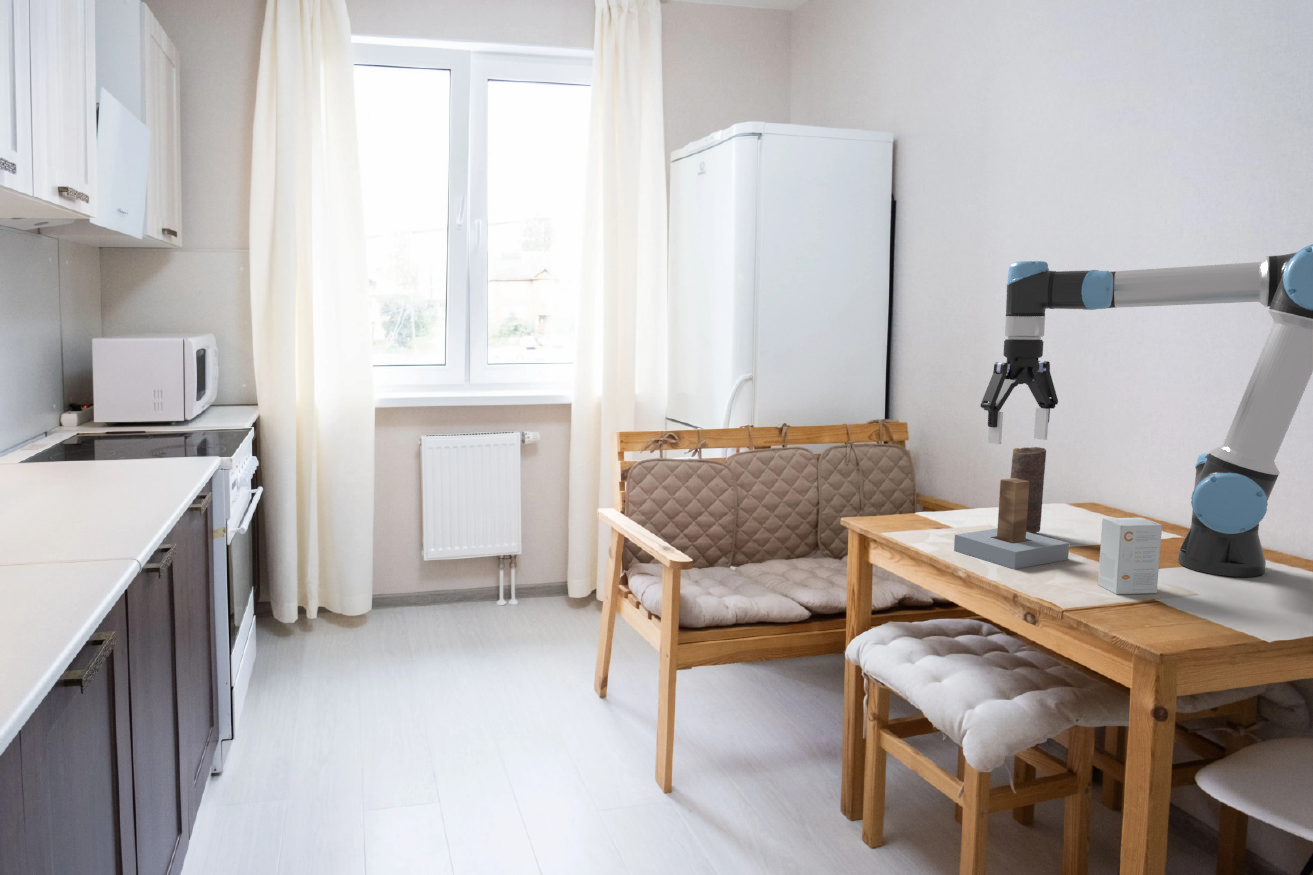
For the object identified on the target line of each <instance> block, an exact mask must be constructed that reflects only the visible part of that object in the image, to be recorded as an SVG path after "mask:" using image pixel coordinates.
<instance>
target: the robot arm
mask: <svg viewBox="0 0 1313 875" xmlns="http://www.w3.org/2000/svg"><path fill="white" fill-rule="evenodd" d="M1005 303H1006V304H1005V327H1004V336H1005V337H1007V338H1006V339H1005V340H1003V357H1005V358H1006V362H1002V361H1001V362H999V361H998V362H997V361H996V362H994V364H993V370H992V371H993V372H992V374H991V377H990V380H989V383H988V386H987V387H986V390H985V393H984V394H983V397H982V400H981V403H980V408H981V409H983V410H984V411H987V427H988V438H987V439H988V440H987V443H989V444H996V445H1001V444H1002V438H1003V437H1002V436H1003V435H1002V433H1003V422H1004V421H1003V419H1004V418H1003V417H1004V412H1003V411H1001V410H1002V407H1003V406H1004V404H1005V403H1006V401H1007V400H1008V398H1009V396H1010V395H1011V393H1012V392H1013V391H1014V389H1015V387H1017V386H1019V385H1023V384H1025V385H1027V388H1029V390H1030V392H1031V394H1032V396H1033V398H1034V399H1035V402H1036V403H1037V405H1038V407H1035V413H1034V415H1035V416H1034V417H1035V418H1034V430H1033V431H1034V432H1033V439H1035V440H1043V441H1047V440H1048V431H1049V430H1048V429H1049V428H1048V427H1049V423H1050V414H1051V409H1055V407H1056V405H1058V403H1059V400H1058V396H1057V392H1056V387H1055V385H1054V382H1053V377H1052V374H1051V362H1050V361H1047V360H1039V359H1041V358H1042V357H1043V354H1044V342H1045V341H1043V339H1042V338H1043V337H1044V336H1045V322H1046V309H1048V310H1055V309H1058V310H1084V311H1085V310H1089V311H1093V310H1094V311H1095V310H1106V309H1115V308H1116V309H1117V308H1120V309H1121V308H1136V307H1137V308H1139V307H1162V306H1165V307H1166V306H1186V305H1187V306H1188V305H1189V306H1190V305H1192V306H1193V305H1211V304H1212V305H1213V304H1233V303H1234V304H1235V303H1237V304H1239V303H1260V304H1261V305H1262V306H1264V307H1265V308H1266V307H1267V308H1268V307H1269V308H1268V310H1267V311H1268V312H1269V313H1268V314H1270V317H1272V321H1273V323H1272V326H1271V328H1270V330H1269V333H1268V335H1267V338H1266V340H1265V342H1264V344H1263V348H1262V350H1261V352H1260V354H1259V357H1258V359H1257V362H1256V364H1255V367H1254V369H1253V371H1252V373H1251V376H1250V379H1249V381H1248V382H1247V386H1246V388H1245V391H1244V392H1243V395H1242V397H1241V400H1240V402H1239V404H1238V407H1237V410H1236V412H1235V414H1234V417H1233V419H1232V422H1231V424H1230V427H1229V429H1228V431H1227V433H1226V434H1227V435H1226V436H1225V439H1224V441H1223V444H1222V445H1220V446H1218V447H1216V448H1214V449H1212V450H1210V451H1209V453H1205V452H1204V453H1201V454H1199V455H1198V456H1197V460H1196V464H1195V466H1194V467H1195V479H1194V488H1193V491H1192V494H1191V497H1190V498H1191V501H1190V503H1191V504H1190V505H1191V508H1192V512H1191V524H1190V527H1189V530H1188V532H1187V534H1186V535H1185V538H1184V540H1183V542H1182V543H1181V546H1180V548H1179V551H1178V558H1177V559H1178V561H1177V563H1179V565H1181V566H1183V567H1185V568H1188V569H1190V570H1194V571H1196V572H1201V573H1206V574H1211V575H1217V576H1222V577H1223V576H1225V577H1235V578H1236V577H1239V578H1245V577H1246V578H1249V577H1250V578H1251V577H1259V576H1263V575H1264V574H1265V573H1266V566H1267V564H1266V563H1267V562H1266V558H1265V554H1264V550H1263V547H1262V543H1261V538H1260V536H1259V528H1260V523H1261V521H1262V520H1263V519H1264V518H1265V515H1266V513H1267V511H1268V508H1267V507H1268V500H1269V498H1270V495H1271V494H1272V491H1273V489H1274V486H1275V484H1276V482H1277V481H1278V478H1279V475H1280V471H1279V469H1278V466H1277V465H1276V462H1275V460H1276V457H1277V456H1278V453H1279V452H1280V449H1281V446H1282V443H1283V442H1284V439H1285V437H1286V434H1287V432H1288V429H1289V427H1290V425H1291V424H1292V423H1291V422H1292V421H1293V419H1294V416H1295V415H1296V414H1295V413H1296V411H1297V409H1298V408H1299V407H1298V406H1299V404H1300V403H1301V400H1302V398H1303V396H1304V393H1305V391H1306V388H1307V386H1308V383H1309V381H1310V379H1311V376H1312V374H1313V244H1309V245H1307V246H1305V247H1303V248H1301V249H1300V250H1298V251H1296V252H1291V253H1288V254H1280V255H1268V256H1265V257H1264V258H1263V259H1262V260H1261V261H1256V262H1239V263H1238V262H1237V263H1223V264H1222V263H1221V264H1210V265H1209V264H1208V265H1194V266H1190V265H1189V266H1179V267H1176V266H1175V267H1162V268H1161V267H1160V268H1159V267H1158V268H1147V269H1145V268H1143V269H1129V270H1117V271H1111V270H1110V271H1109V270H1099V269H1091V270H1090V269H1089V270H1065V271H1064V270H1063V271H1056V270H1050V269H1049V264H1048V262H1046V261H1042V260H1041V261H1039V260H1037V261H1036V260H1035V261H1033V260H1028V261H1025V260H1023V261H1014V262H1012V263H1011V264H1010V265H1009V267H1008V277H1007V283H1006V302H1005Z"/></svg>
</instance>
